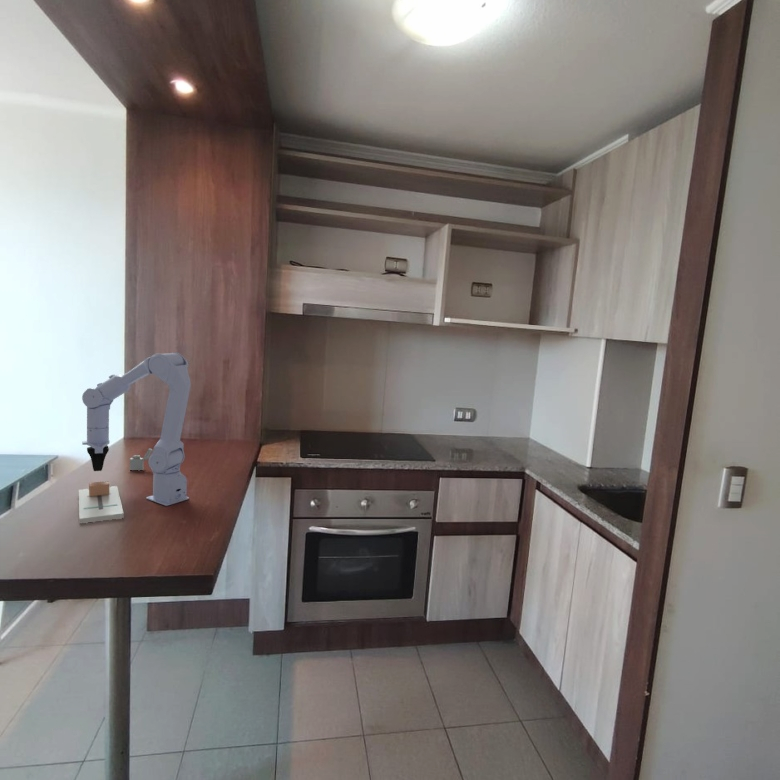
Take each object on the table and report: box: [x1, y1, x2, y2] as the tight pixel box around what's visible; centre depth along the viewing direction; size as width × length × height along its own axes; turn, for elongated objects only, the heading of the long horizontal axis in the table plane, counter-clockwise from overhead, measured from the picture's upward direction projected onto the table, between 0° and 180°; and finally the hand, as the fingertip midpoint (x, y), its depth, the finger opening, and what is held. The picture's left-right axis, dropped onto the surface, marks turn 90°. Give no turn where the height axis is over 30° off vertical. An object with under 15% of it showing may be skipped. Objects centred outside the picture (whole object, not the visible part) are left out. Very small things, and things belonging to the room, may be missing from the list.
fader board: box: [78, 485, 125, 524], centre depth 138 cm, size 24×10×2 cm, turn 33°
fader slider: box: [88, 480, 110, 496], centre depth 141 cm, size 3×5×3 cm, turn 123°
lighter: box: [129, 447, 154, 471], centre depth 171 cm, size 7×2×8 cm, turn 104°
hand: (97, 470), depth 149 cm, fingers closed
